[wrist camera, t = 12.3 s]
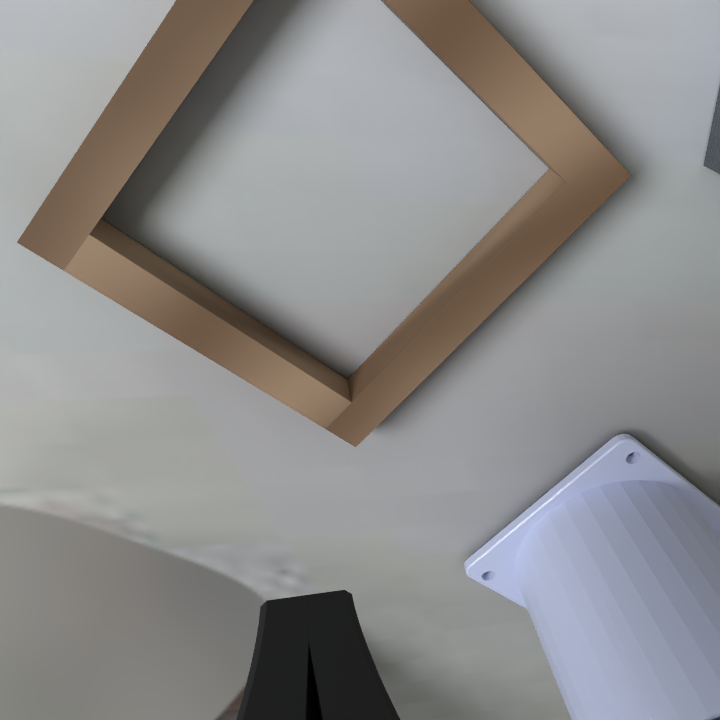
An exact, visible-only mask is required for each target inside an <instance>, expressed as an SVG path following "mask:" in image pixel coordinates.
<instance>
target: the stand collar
mask: <svg viewBox="0 0 720 720" xmlns="http://www.w3.org/2000/svg"><path fill="white" fill-rule="evenodd" d="M253 1H254V0H176V2H175V3H174V5H173V6H172V8H171V9H170V11H169V12H168V14H167V15H166V17H165V19H164V20H163V22H162V23H161V25H160V26H159V28H158V29H157V31H156V32H155V34H154V35H153V37H152V38H151V40H150V41H149V43H148V44H147V46H146V47H145V49H144V50H143V52H142V53H141V55H140V56H139V58H138V60H137V61H136V63H135V64H134V66H133V67H132V69H131V70H130V72H129V73H128V75H127V76H126V78H125V79H124V81H123V82H122V84H121V85H120V87H119V88H118V90H117V91H116V93H115V94H114V96H113V97H112V99H111V101H110V102H109V104H108V105H107V107H106V108H105V110H104V111H103V113H102V114H101V116H100V117H99V119H98V120H97V122H96V123H95V125H94V126H93V128H92V129H91V131H90V132H89V134H88V135H87V137H86V138H85V140H84V142H83V143H82V145H81V146H80V148H79V149H78V151H77V152H76V154H75V155H74V157H73V158H72V160H71V161H70V163H69V164H68V166H67V167H66V169H65V170H64V172H63V173H62V175H61V176H60V178H59V179H58V181H57V183H56V184H55V186H54V187H53V189H52V190H51V192H50V193H49V195H48V196H47V198H46V199H45V201H44V202H43V204H42V205H41V207H40V208H39V210H38V211H37V213H36V214H35V216H34V217H33V219H32V220H31V222H30V224H29V225H28V227H27V228H26V230H25V231H24V233H23V234H22V236H21V237H20V239H19V240H18V242H17V243H19V244H21V245H22V246H24V247H26V248H27V249H29V250H30V251H32V252H34V253H35V254H37V255H39V256H40V257H42V258H44V259H45V260H47V261H49V262H50V263H52V264H54V265H55V266H57V267H59V268H60V269H62V270H64V271H65V272H67V273H69V274H70V275H72V276H73V277H75V278H77V279H78V280H80V281H82V282H83V283H85V284H87V285H88V286H90V287H92V288H93V289H95V290H97V291H98V292H100V293H102V294H103V295H105V296H107V297H108V298H110V299H112V300H113V301H115V302H116V303H118V304H120V305H121V306H123V307H125V308H126V309H128V310H130V311H131V312H133V313H135V314H136V315H138V316H140V317H141V318H143V319H145V320H146V321H148V322H150V323H151V324H153V325H155V326H156V327H158V328H160V329H161V330H163V331H164V332H166V333H168V334H169V335H171V336H173V337H174V338H176V339H178V340H179V341H181V342H183V343H184V344H186V345H188V346H189V347H191V348H193V349H194V350H196V351H198V352H199V353H201V354H203V355H204V356H206V357H207V358H209V359H211V360H212V361H214V362H216V363H217V364H219V365H221V366H222V367H224V368H226V369H227V370H229V371H231V372H232V373H234V374H236V375H237V376H239V377H241V378H242V379H244V380H246V381H247V382H249V383H250V384H252V385H254V386H255V387H257V388H259V389H260V390H262V391H264V392H265V393H267V394H269V395H270V396H272V397H274V398H275V399H277V400H279V401H280V402H282V403H284V404H285V405H287V406H289V407H290V408H292V409H293V410H295V411H297V412H298V413H300V414H302V415H303V416H305V417H307V418H308V419H310V420H312V421H313V422H315V423H317V424H318V425H320V426H322V427H323V428H325V429H327V430H328V431H330V432H332V433H333V434H335V435H337V436H338V437H340V438H341V439H343V440H345V441H346V442H348V443H350V444H351V445H353V446H355V447H356V446H357V445H358V444H359V443H360V442H361V441H362V440H364V439H365V438H366V437H367V436H368V435H369V434H370V433H371V432H372V431H373V430H374V429H375V428H376V427H377V426H378V425H379V424H380V423H381V422H382V421H383V420H384V419H385V418H386V417H387V416H388V415H389V414H390V413H391V412H392V411H393V410H394V409H395V408H396V407H397V406H398V405H399V404H400V403H401V402H402V401H403V400H404V399H405V398H406V397H407V396H408V395H409V394H410V393H411V392H412V391H413V390H414V389H415V388H416V387H417V386H418V385H419V384H420V383H421V382H422V381H423V380H424V379H425V378H426V377H427V376H428V375H429V374H430V373H431V372H432V371H433V370H434V369H435V368H436V367H437V366H439V365H440V364H441V363H442V362H443V361H444V360H445V359H446V358H447V357H448V356H449V355H450V354H451V353H452V352H453V351H454V350H455V349H456V348H457V347H458V346H459V345H460V344H461V343H462V342H463V341H464V340H465V339H466V338H467V337H468V336H469V335H470V334H471V333H472V332H473V331H474V330H475V329H476V328H477V327H478V326H479V325H480V324H481V323H482V322H483V321H484V320H485V319H486V318H487V317H488V316H489V315H490V314H491V313H492V312H493V311H494V310H495V309H496V308H497V307H498V306H499V305H500V304H501V303H502V302H503V301H504V300H505V299H506V298H507V297H508V296H509V295H510V294H511V293H513V292H514V291H515V290H516V289H517V288H518V287H519V286H520V285H521V284H522V283H523V282H524V281H525V280H526V279H527V278H528V277H529V276H530V275H531V274H532V273H533V272H534V271H535V270H536V269H537V268H538V267H539V266H540V265H541V264H542V263H543V262H544V261H545V260H546V259H547V258H548V257H549V256H550V255H551V254H552V253H553V252H554V251H555V250H556V249H557V248H558V247H559V246H560V245H561V244H562V243H563V242H564V241H565V240H566V239H567V238H568V237H569V236H570V235H571V234H572V233H573V232H574V231H575V230H576V229H577V228H578V227H579V226H580V225H581V224H582V223H583V222H584V221H585V220H587V219H588V218H589V217H590V216H591V215H592V214H593V213H594V212H595V211H596V210H597V209H598V208H599V207H600V206H601V205H602V204H603V203H604V202H605V201H606V200H607V199H608V198H609V197H610V196H611V195H612V194H613V193H614V192H615V191H616V190H617V189H618V188H619V187H620V186H621V185H622V184H623V183H624V182H625V181H626V180H627V179H628V178H629V177H630V176H631V175H630V174H629V173H628V171H627V170H626V169H625V168H624V167H623V166H622V165H621V164H620V163H619V162H618V161H617V160H616V159H615V157H614V156H613V155H612V154H611V153H610V152H609V151H608V150H607V149H606V148H605V147H604V146H603V144H602V143H601V142H600V141H599V140H598V139H597V138H596V137H595V136H594V135H593V134H592V133H591V132H590V130H589V129H588V128H587V127H586V126H585V125H584V124H583V123H582V122H581V121H580V120H579V119H578V118H577V116H576V115H575V114H574V113H573V112H572V111H571V110H570V109H569V108H568V107H567V106H566V105H565V103H564V102H563V101H562V100H561V99H560V98H559V97H558V96H557V95H556V94H555V93H554V92H553V91H552V89H551V88H550V87H549V86H548V85H547V84H546V83H545V82H544V81H543V80H542V79H541V78H540V77H539V75H538V74H537V73H536V72H535V71H534V70H533V69H532V68H531V67H530V66H529V65H528V64H527V62H526V61H525V60H524V59H523V58H522V57H521V56H520V55H519V54H518V53H517V52H516V51H515V50H514V48H513V47H512V46H511V45H510V44H509V43H508V42H507V41H506V40H505V39H504V38H503V37H502V35H501V34H500V33H499V32H498V31H497V30H496V29H495V28H494V27H493V26H492V25H491V24H490V23H489V21H488V20H487V19H486V18H485V17H484V16H483V15H482V14H481V13H480V12H479V11H478V10H477V9H476V7H475V6H474V5H473V4H472V3H471V2H470V1H469V0H381V1H382V2H383V3H384V4H385V5H386V6H387V7H388V8H389V9H390V10H391V11H392V12H393V13H394V14H395V15H396V16H397V17H398V18H399V19H400V20H401V21H402V22H403V23H404V24H405V25H406V26H407V27H408V28H409V29H410V30H411V31H412V32H413V33H414V34H415V35H416V36H417V37H418V38H419V39H420V40H421V41H422V42H423V43H424V44H425V45H426V46H427V47H428V48H429V49H430V50H431V51H432V52H433V53H434V54H435V55H436V56H437V57H438V58H439V59H440V60H441V61H442V62H443V63H444V64H445V65H446V66H447V67H448V68H449V69H450V70H451V71H452V72H453V73H454V74H455V75H456V76H457V77H458V78H459V79H460V80H461V81H462V82H463V83H464V84H465V85H466V86H467V87H468V88H469V89H470V90H471V91H472V92H473V93H474V94H475V95H476V96H477V97H478V98H479V99H480V100H481V101H482V102H483V103H484V104H485V105H486V106H487V107H488V108H489V109H490V110H491V111H492V112H493V113H494V114H495V115H496V116H497V117H498V118H499V119H500V120H501V121H502V122H503V123H504V124H505V125H506V126H507V127H508V128H509V129H510V130H511V131H512V132H513V133H514V134H515V135H516V136H517V137H518V138H519V139H520V140H521V141H522V142H523V143H524V144H525V145H526V146H527V147H528V148H529V149H530V150H531V151H532V152H533V153H534V154H535V155H536V156H537V157H538V158H539V159H540V160H541V161H542V162H543V163H544V164H545V165H546V166H547V167H548V168H549V170H548V171H547V172H546V173H545V174H544V175H543V176H542V177H541V178H540V179H539V180H538V181H537V183H536V184H535V185H534V186H533V187H532V188H531V189H530V190H529V191H528V192H527V193H526V194H525V195H524V196H523V197H522V198H521V199H520V200H519V201H518V202H517V203H516V204H515V205H514V207H513V208H512V209H511V210H510V211H509V212H508V213H507V214H506V215H505V216H504V217H503V218H502V219H501V220H500V221H499V222H498V223H497V224H496V225H495V226H494V227H493V228H492V229H491V230H490V232H489V233H488V234H487V235H486V236H485V237H484V238H483V239H482V240H481V241H480V242H479V243H478V244H477V245H476V246H475V247H474V248H473V249H472V250H471V251H470V252H469V253H468V254H467V256H466V257H465V258H464V259H463V260H462V261H461V262H460V263H459V264H458V265H457V266H456V267H455V268H454V269H453V270H452V271H451V272H450V273H449V274H448V275H447V276H446V277H445V278H444V280H443V281H442V282H441V283H440V284H439V285H438V286H437V287H436V288H435V289H434V290H433V291H432V292H431V293H430V294H429V295H428V296H427V297H426V298H425V299H424V300H423V301H422V302H421V303H420V305H419V306H418V307H417V308H416V309H415V310H414V311H413V312H412V313H411V314H410V315H409V316H408V317H407V318H406V319H405V320H404V321H403V322H402V323H401V324H400V325H399V326H398V327H397V329H396V330H395V331H394V332H393V333H392V334H391V335H390V336H389V337H388V338H387V339H386V340H385V341H384V342H383V343H382V344H381V345H380V346H379V347H378V348H377V349H376V350H375V351H374V353H373V354H372V355H371V356H370V357H369V358H368V359H367V360H366V361H365V362H364V363H363V364H362V365H361V366H360V367H359V368H358V369H357V370H356V371H355V372H354V373H353V374H352V375H351V376H350V378H349V379H348V380H347V379H345V378H343V377H342V376H340V375H339V374H337V373H336V372H334V371H333V370H331V369H330V368H328V367H327V366H325V365H324V364H322V363H321V362H319V361H318V360H316V359H314V358H313V357H311V356H310V355H308V354H307V353H305V352H304V351H302V350H301V349H299V348H298V347H296V346H295V345H293V344H292V343H290V342H289V341H287V340H286V339H284V338H282V337H281V336H279V335H278V334H276V333H275V332H273V331H272V330H270V329H269V328H267V327H266V326H264V325H263V324H261V323H260V322H258V321H257V320H255V319H254V318H252V317H250V316H249V315H247V314H246V313H244V312H243V311H241V310H240V309H238V308H237V307H235V306H234V305H232V304H231V303H229V302H228V301H226V300H225V299H223V298H221V297H220V296H218V295H217V294H215V293H214V292H212V291H211V290H209V289H208V288H206V287H205V286H203V285H202V284H200V283H199V282H197V281H196V280H194V279H193V278H191V277H189V276H188V275H186V274H185V273H183V272H182V271H180V270H179V269H177V268H176V267H174V266H173V265H171V264H170V263H168V262H167V261H165V260H164V259H162V258H161V257H159V256H157V255H156V254H154V253H153V252H151V251H150V250H148V249H147V248H145V247H144V246H142V245H141V244H139V243H138V242H136V241H135V240H133V239H132V238H130V237H128V236H127V235H125V234H124V233H122V232H121V231H119V230H118V229H116V228H115V227H113V226H112V225H110V224H109V223H107V222H106V221H104V220H103V219H101V217H102V216H103V214H104V213H105V211H106V210H107V209H108V207H109V206H110V204H111V203H112V201H113V200H114V199H115V197H116V196H117V194H118V193H119V191H120V190H121V189H122V187H123V186H124V184H125V183H126V181H127V180H128V179H129V177H130V176H131V174H132V173H133V171H134V170H135V169H136V167H137V166H138V164H139V163H140V161H141V160H142V159H143V157H144V156H145V154H146V153H147V152H148V150H149V149H150V147H151V146H152V144H153V143H154V142H155V140H156V139H157V137H158V136H159V134H160V133H161V132H162V130H163V129H164V127H165V126H166V124H167V123H168V122H169V120H170V119H171V117H172V116H173V114H174V113H175V112H176V110H177V109H178V107H179V106H180V105H181V103H182V102H183V100H184V99H185V97H186V96H187V95H188V93H189V92H190V90H191V89H192V87H193V86H194V85H195V83H196V82H197V80H198V79H199V77H200V76H201V75H202V73H203V72H204V70H205V69H206V67H207V66H208V65H209V63H210V62H211V60H212V59H213V57H214V56H215V55H216V53H217V52H218V50H219V49H220V48H221V46H222V45H223V43H224V42H225V40H226V39H227V38H228V36H229V35H230V33H231V32H232V30H233V29H234V28H235V26H236V25H237V23H238V22H239V20H240V19H241V18H242V16H243V15H244V13H245V12H246V10H247V9H248V8H249V6H250V5H251V3H252V2H253Z"/></svg>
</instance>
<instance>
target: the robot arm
mask: <svg viewBox="0 0 720 720" xmlns="http://www.w3.org/2000/svg"><path fill="white" fill-rule="evenodd" d="M633 452H634V453H633ZM631 453H633V454H632V455H630V456H628V455H629V454H631ZM464 567H465V570H466V574H467V576H469V577H470V578H471V579H473V580H475V581H477V582H479V583H481V584H482V585H484V586H486V587H488V588H490V589H492V590H493V591H495V592H497V593H499V594H501V595H502V596H504V597H506V598H508V599H510V600H512V601H513V602H515V603H517V604H519V605H521V606H523V607H524V608H526V609H528V612H529V614H530V617H531V619H532V622H533V624H534V627H535V629H536V632H537V634H538V637H539V639H540V642H541V644H542V647H543V649H544V652H545V654H546V657H547V659H548V662H549V664H550V667H551V669H552V672H553V674H554V677H555V679H556V682H557V684H558V687H559V689H560V692H561V694H562V697H563V700H564V702H565V705H566V707H567V710H568V712H569V715H570V717H571V720H720V506H719V505H718V504H717V503H715V502H714V501H713V500H712V499H710V498H709V497H708V496H707V495H705V494H704V493H703V492H702V491H700V490H699V489H698V488H697V487H695V486H694V485H693V484H692V483H690V482H689V481H688V480H687V479H685V478H684V477H683V476H681V475H680V474H679V473H678V472H676V471H675V470H674V469H673V468H671V467H670V466H669V465H668V464H666V463H665V462H664V461H663V460H661V459H660V458H659V457H658V456H656V455H655V454H654V453H653V452H651V451H650V450H649V449H648V448H646V447H645V446H644V445H643V444H641V443H640V442H639V441H638V440H636V439H635V438H634V437H633V436H631V435H629V434H620V435H617V436H615V437H613V438H612V439H611V440H609V441H608V442H607V443H606V444H605V445H603V446H602V447H601V448H600V449H599V450H597V451H596V452H595V453H594V454H593V455H591V456H590V457H589V458H588V459H587V460H585V461H584V462H583V463H582V464H581V465H579V466H578V467H577V468H576V469H575V470H573V471H572V472H571V473H570V474H569V475H567V476H566V477H565V478H564V479H563V480H562V481H560V482H559V483H558V484H557V485H556V486H554V487H553V488H552V489H551V490H550V491H548V492H547V493H546V494H545V495H544V496H542V497H541V498H540V499H539V500H538V501H536V502H535V503H534V504H533V505H532V506H530V507H529V508H528V509H527V510H526V511H524V512H523V513H522V514H521V515H520V516H518V517H517V518H516V519H515V520H514V521H512V522H511V523H510V524H509V525H508V526H506V527H505V528H504V529H503V530H502V531H500V532H499V533H498V534H497V535H496V536H494V537H493V538H492V539H491V540H490V541H488V542H487V543H486V544H485V545H484V546H482V547H481V548H480V549H479V550H478V551H476V552H475V553H474V554H473V555H472V556H470V557H469V558H468V559H467V560H466V562H465V564H464ZM487 571H488V572H487ZM237 720H400V718H399V716H398V714H397V712H396V710H395V708H394V706H393V704H392V702H391V700H390V698H389V696H388V694H387V692H386V689H385V687H384V685H383V683H382V680H381V678H380V676H379V674H378V671H377V669H376V666H375V664H374V661H373V659H372V656H371V654H370V652H369V649H368V646H367V644H366V641H365V638H364V636H363V633H362V630H361V627H360V624H359V620H358V617H357V614H356V610H355V606H354V602H353V598H352V594H351V593H349V592H347V591H346V590H340V591H333V592H326V593H319V594H312V595H304V596H297V597H290V598H283V599H276V600H268V601H266V602H265V603H264V604H263V605H262V606H261V608H260V617H259V626H258V632H257V638H256V643H255V649H254V654H253V658H252V663H251V667H250V672H249V675H248V680H247V684H246V688H245V692H244V696H243V699H242V703H241V706H240V710H239V713H238V716H237Z"/></svg>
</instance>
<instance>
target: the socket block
mask: <svg viewBox="0 0 720 720" xmlns="http://www.w3.org/2000/svg"><path fill="white" fill-rule="evenodd" d="M704 166H706V167H708V168H709V169H711V170H713V171H715V172H717V173H719V174H720V87H719V92H718V97H717V102H716V107H715V112H714V117H713V122H712V127H711V132H710V137H709V142H708V147H707V152H706V157H705V162H704Z"/></svg>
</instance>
